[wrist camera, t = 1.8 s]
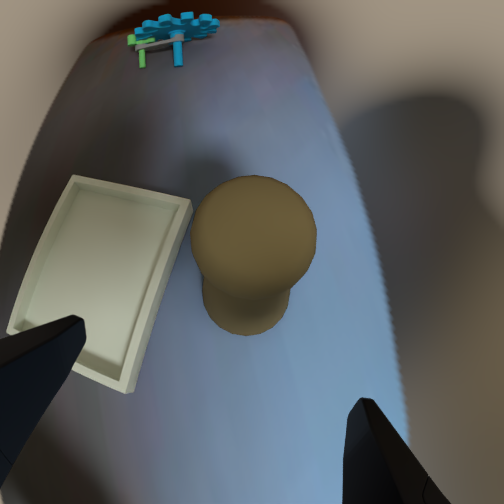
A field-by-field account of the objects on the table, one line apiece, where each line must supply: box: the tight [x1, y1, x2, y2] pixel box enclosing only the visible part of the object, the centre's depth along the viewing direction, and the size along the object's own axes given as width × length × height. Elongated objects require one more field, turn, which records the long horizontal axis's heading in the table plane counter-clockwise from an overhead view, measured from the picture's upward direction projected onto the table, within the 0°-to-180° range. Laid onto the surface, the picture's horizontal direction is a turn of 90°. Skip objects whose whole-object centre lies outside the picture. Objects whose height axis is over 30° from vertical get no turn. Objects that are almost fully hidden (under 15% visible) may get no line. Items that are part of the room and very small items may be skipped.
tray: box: [6, 175, 193, 394], centre depth 20 cm, size 14×11×2 cm
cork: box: [190, 175, 317, 336], centre depth 16 cm, size 6×6×11 cm
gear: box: [128, 12, 220, 68], centre depth 29 cm, size 11×6×10 cm
